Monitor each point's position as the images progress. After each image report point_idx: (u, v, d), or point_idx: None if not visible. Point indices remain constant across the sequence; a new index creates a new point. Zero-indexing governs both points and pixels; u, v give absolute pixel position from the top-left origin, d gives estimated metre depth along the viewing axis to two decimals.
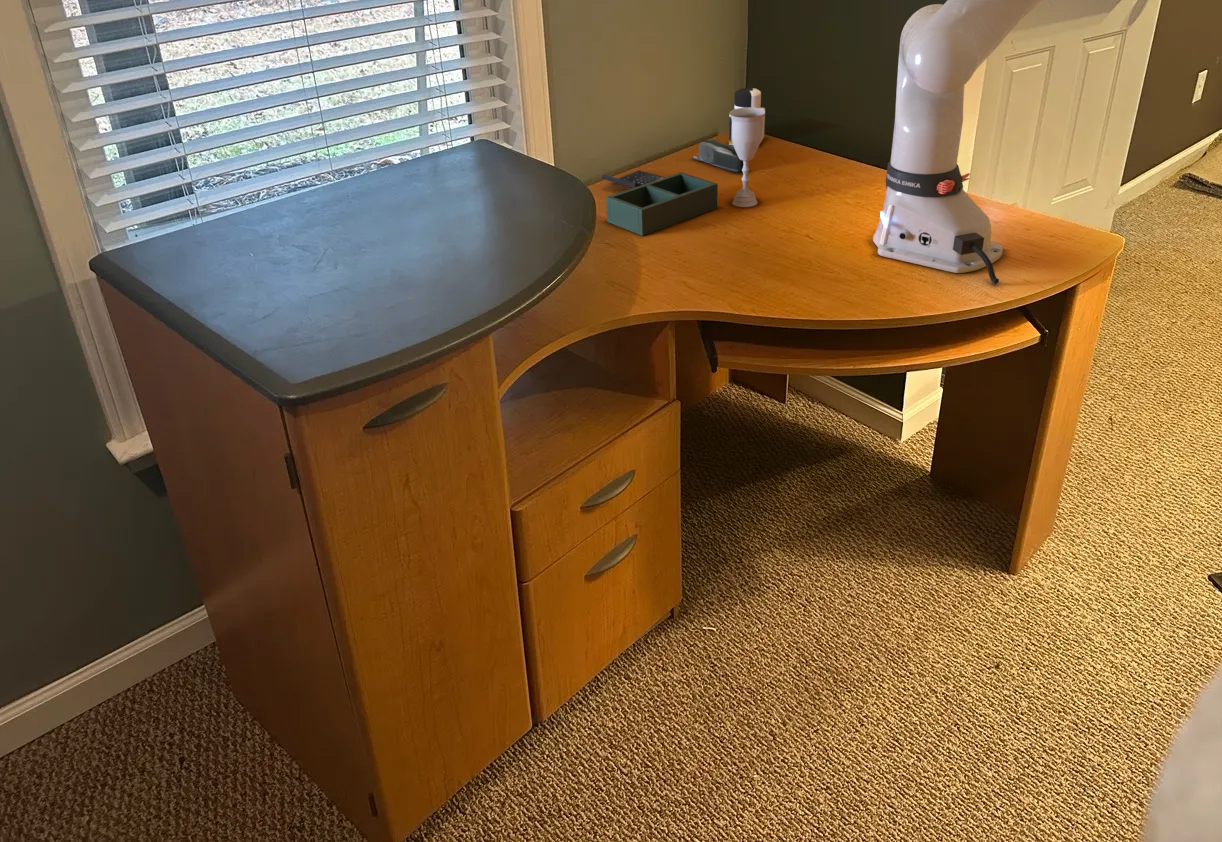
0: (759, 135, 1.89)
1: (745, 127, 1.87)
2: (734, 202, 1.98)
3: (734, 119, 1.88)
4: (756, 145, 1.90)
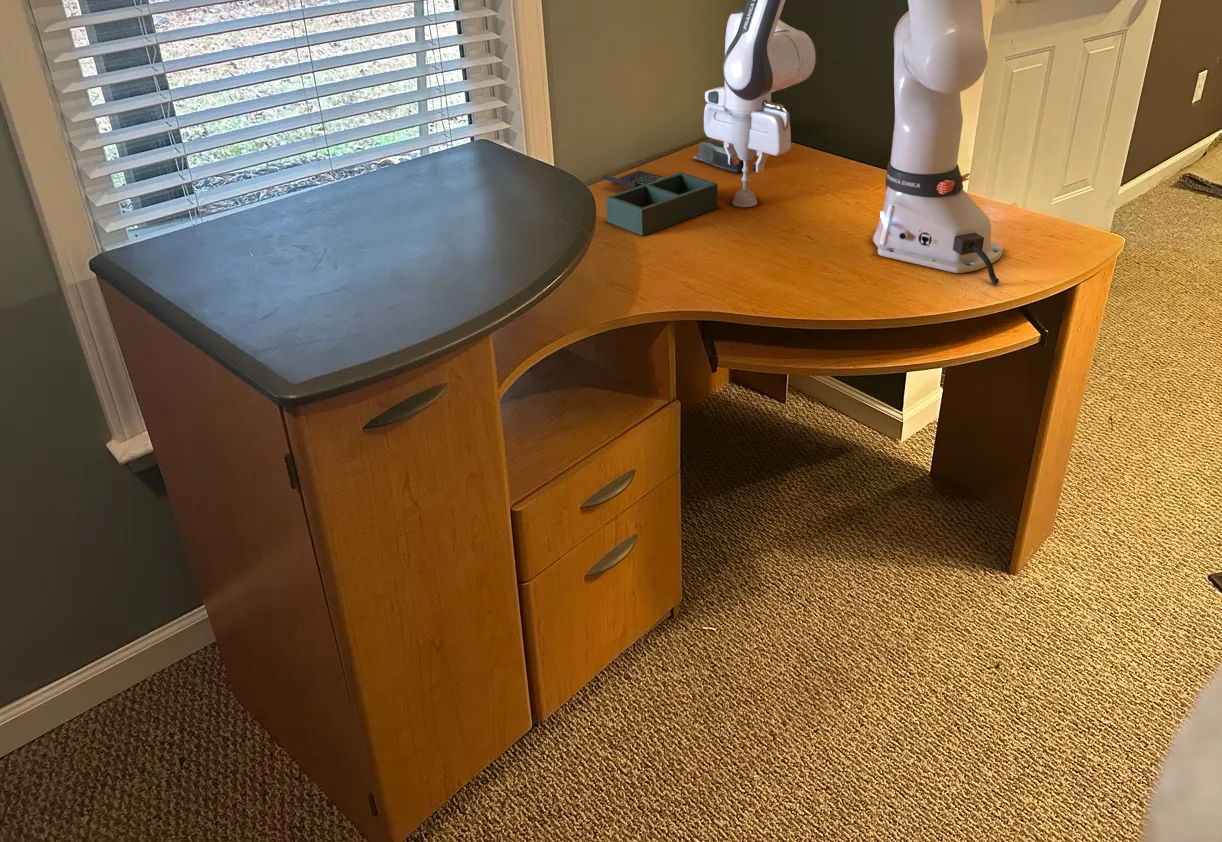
0: None
1: (745, 127, 1.87)
2: (734, 202, 1.98)
3: (734, 119, 1.88)
4: None
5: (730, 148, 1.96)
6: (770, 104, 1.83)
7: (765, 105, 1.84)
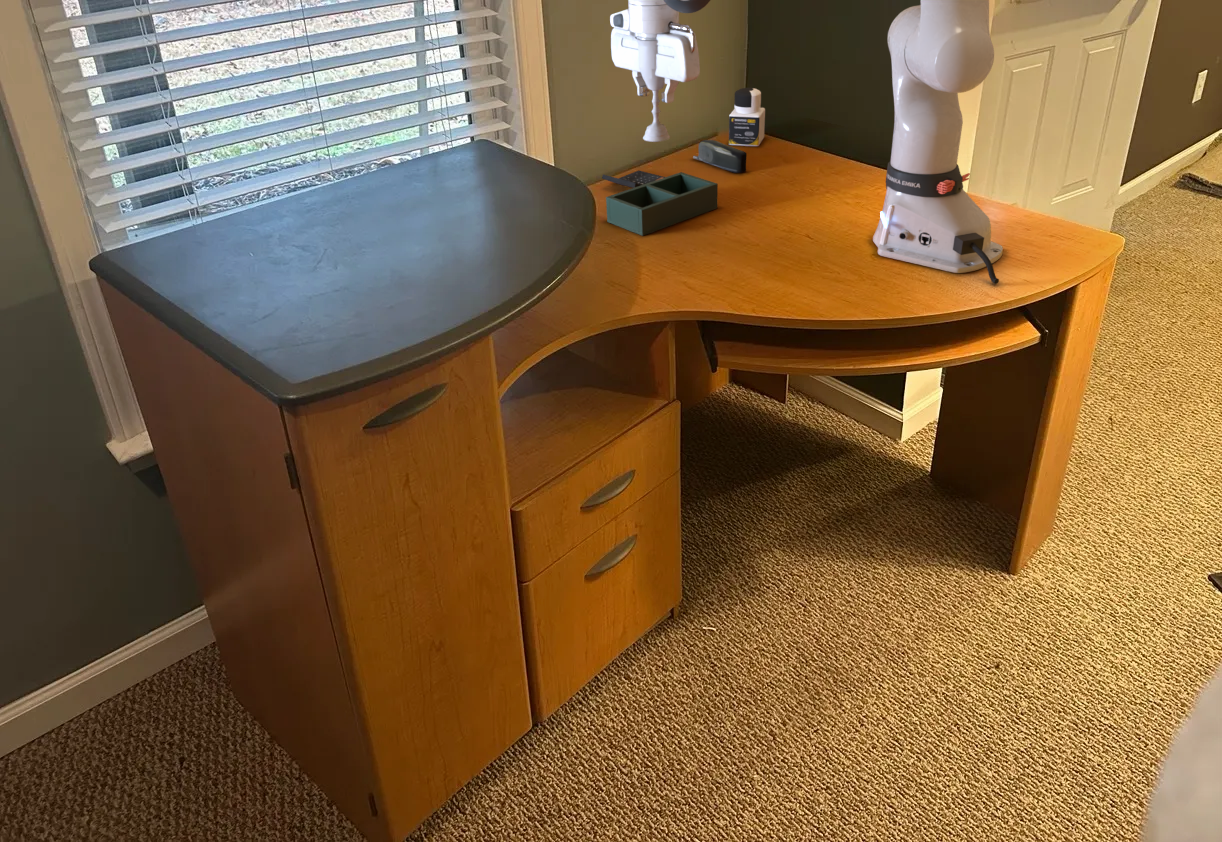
0: None
1: (652, 52, 1.73)
2: (644, 137, 1.84)
3: (640, 43, 1.74)
4: None
5: (639, 78, 1.82)
6: (676, 25, 1.69)
7: (671, 26, 1.70)
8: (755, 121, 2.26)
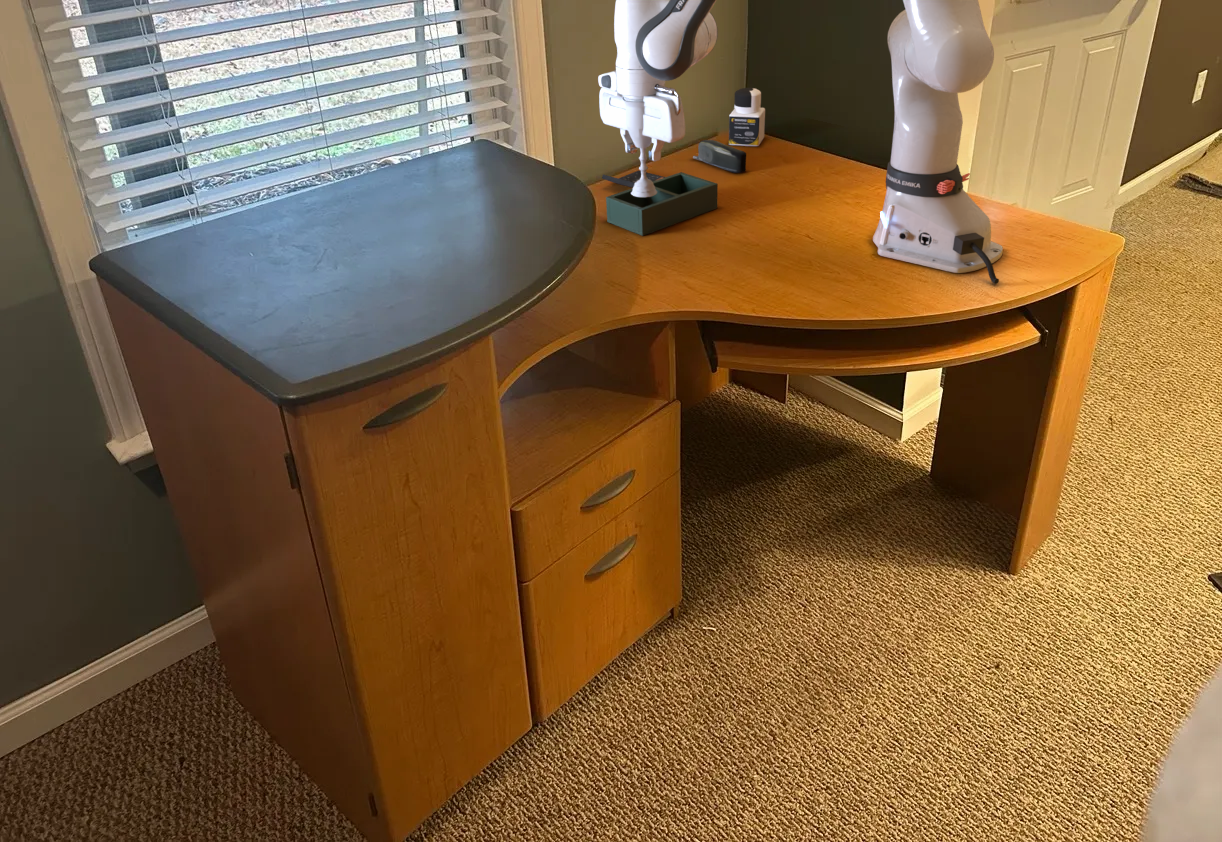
0: None
1: (639, 112, 1.78)
2: (632, 192, 1.88)
3: (627, 104, 1.78)
4: None
5: (627, 135, 1.86)
6: (662, 88, 1.74)
7: (657, 89, 1.74)
8: (755, 121, 2.26)
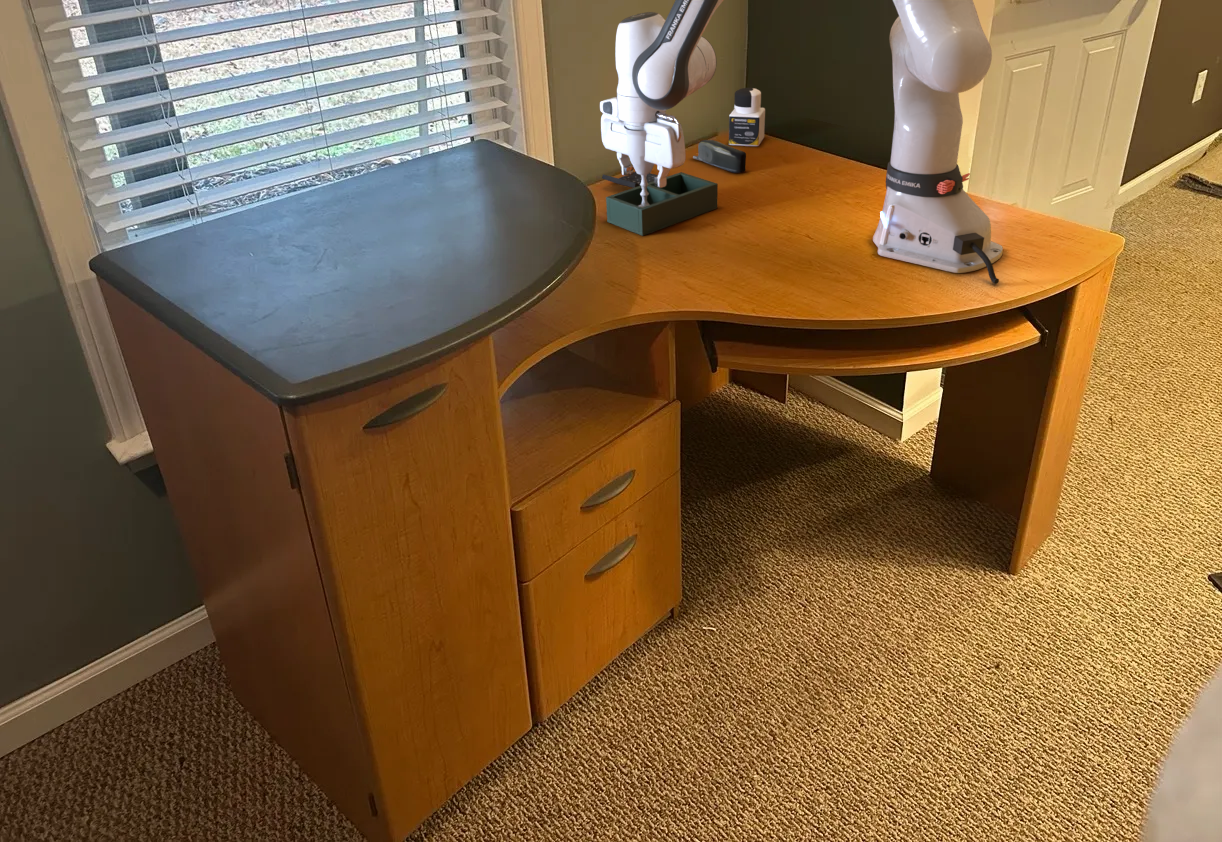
0: None
1: (640, 140, 1.81)
2: None
3: (628, 132, 1.81)
4: None
5: (623, 158, 1.90)
6: (663, 115, 1.76)
7: (658, 116, 1.77)
8: (755, 121, 2.26)
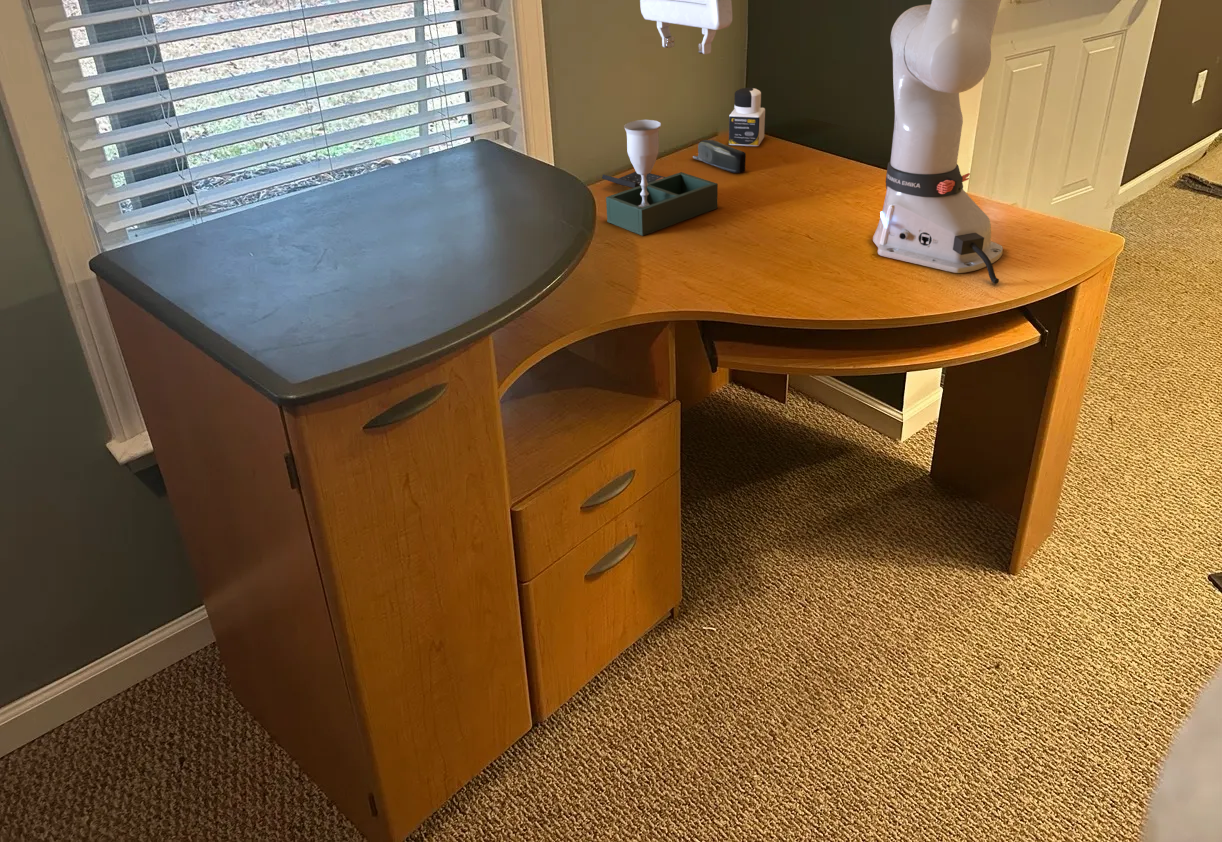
0: (655, 148, 1.83)
1: (639, 140, 1.81)
2: None
3: (628, 132, 1.81)
4: (652, 159, 1.84)
5: (664, 29, 1.80)
6: None
7: None
8: (755, 121, 2.26)
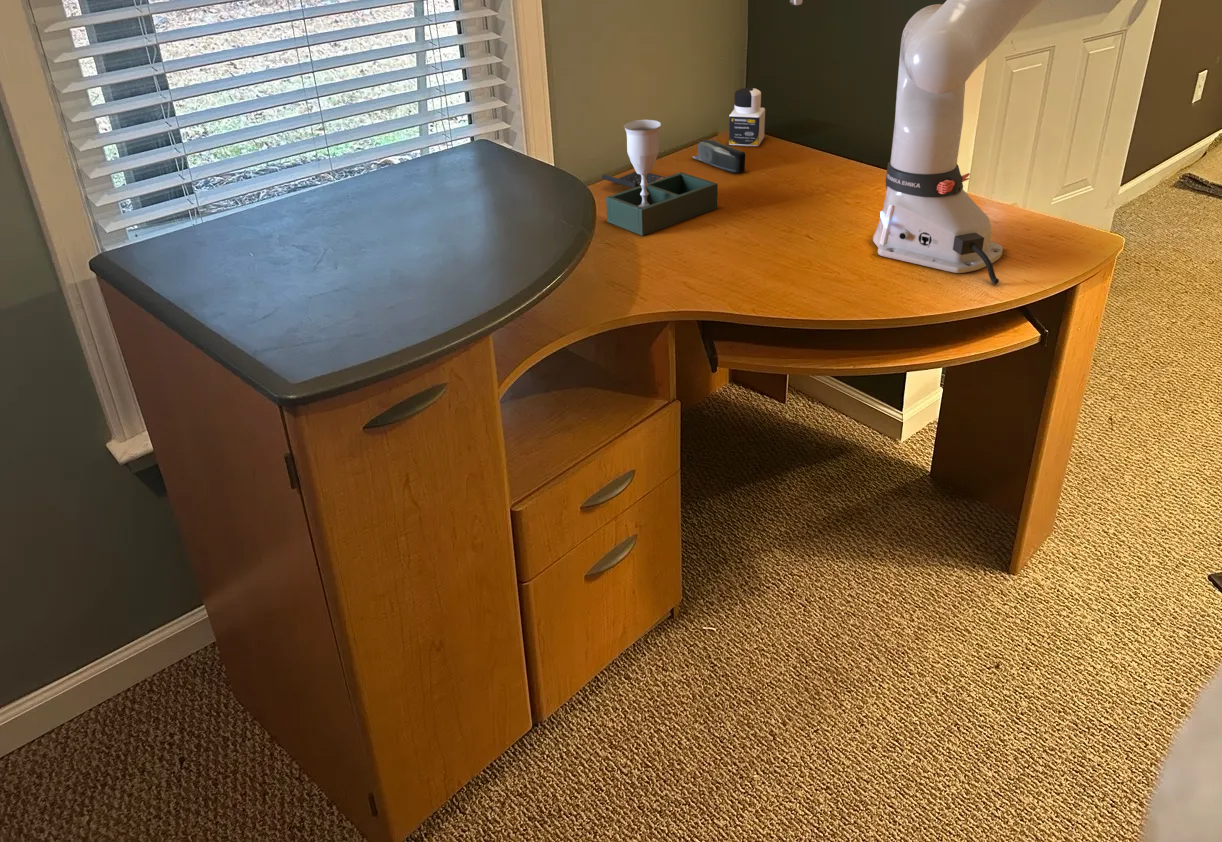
0: (655, 148, 1.83)
1: (639, 140, 1.81)
2: None
3: (628, 132, 1.81)
4: (652, 159, 1.84)
5: None
6: None
7: None
8: (755, 121, 2.26)
